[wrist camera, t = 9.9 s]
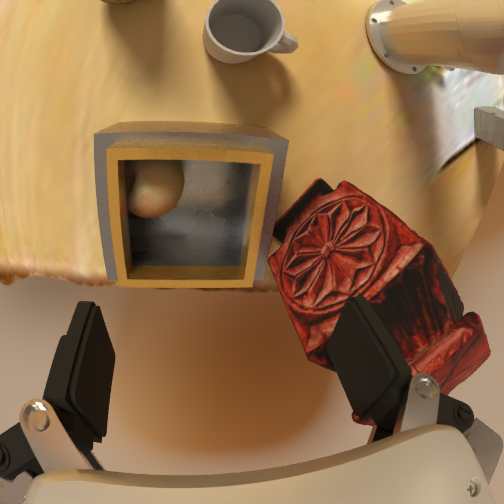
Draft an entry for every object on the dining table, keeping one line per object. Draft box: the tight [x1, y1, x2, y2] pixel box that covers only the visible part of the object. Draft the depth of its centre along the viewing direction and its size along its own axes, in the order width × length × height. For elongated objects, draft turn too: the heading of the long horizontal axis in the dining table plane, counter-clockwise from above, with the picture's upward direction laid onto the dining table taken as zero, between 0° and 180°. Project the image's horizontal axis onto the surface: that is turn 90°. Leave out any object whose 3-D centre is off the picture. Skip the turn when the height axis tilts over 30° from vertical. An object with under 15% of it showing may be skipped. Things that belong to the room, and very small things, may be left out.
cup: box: [203, 0, 298, 64], centre depth 23 cm, size 7×10×9 cm
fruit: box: [126, 159, 185, 218], centre depth 29 cm, size 8×7×8 cm
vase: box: [268, 178, 491, 426], centre depth 30 cm, size 14×14×30 cm
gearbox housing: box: [94, 121, 289, 288], centre depth 30 cm, size 18×16×12 cm
